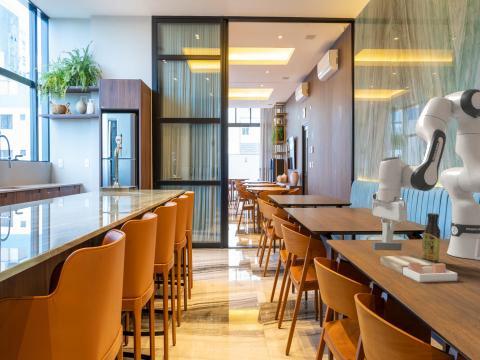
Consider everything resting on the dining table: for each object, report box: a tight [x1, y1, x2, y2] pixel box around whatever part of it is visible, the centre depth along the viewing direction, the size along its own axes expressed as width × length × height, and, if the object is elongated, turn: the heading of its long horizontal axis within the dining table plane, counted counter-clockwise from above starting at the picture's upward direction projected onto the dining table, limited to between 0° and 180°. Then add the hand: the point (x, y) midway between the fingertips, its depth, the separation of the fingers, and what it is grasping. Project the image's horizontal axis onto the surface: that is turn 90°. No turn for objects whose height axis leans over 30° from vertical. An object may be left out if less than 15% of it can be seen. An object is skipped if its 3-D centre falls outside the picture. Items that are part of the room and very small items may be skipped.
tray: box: [402, 266, 458, 283], centre depth 124 cm, size 14×9×2 cm, turn 99°
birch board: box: [380, 255, 436, 275], centre depth 136 cm, size 14×14×3 cm
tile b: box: [407, 263, 424, 274], centre depth 126 cm, size 4×4×2 cm
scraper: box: [371, 222, 403, 251], centre depth 148 cm, size 12×3×11 cm, turn 99°
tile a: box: [432, 262, 447, 274], centre depth 125 cm, size 4×4×2 cm
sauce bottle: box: [421, 212, 441, 264], centre depth 145 cm, size 6×6×20 cm
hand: (388, 229), depth 148 cm, fingers closed on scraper, 3 cm apart
